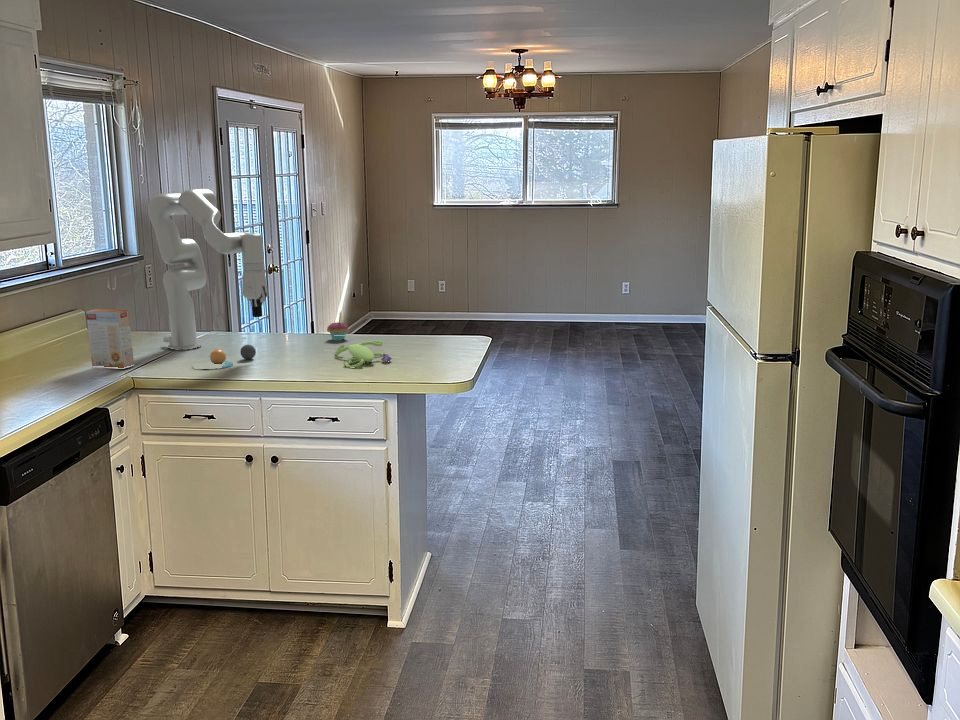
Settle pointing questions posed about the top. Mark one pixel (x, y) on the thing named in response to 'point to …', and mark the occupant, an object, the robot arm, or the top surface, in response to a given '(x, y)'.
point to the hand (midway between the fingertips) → (257, 316)
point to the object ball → (217, 356)
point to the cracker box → (110, 338)
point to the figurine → (362, 353)
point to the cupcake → (337, 329)
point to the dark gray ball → (248, 351)
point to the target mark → (227, 364)
